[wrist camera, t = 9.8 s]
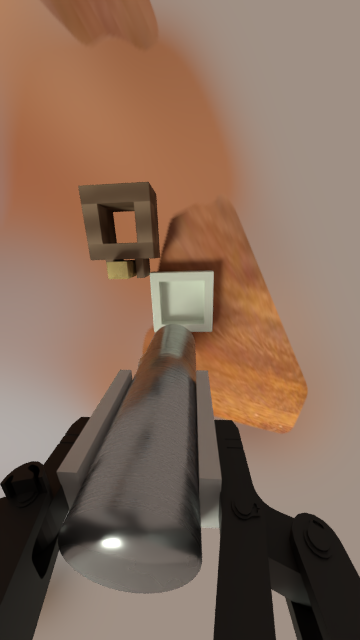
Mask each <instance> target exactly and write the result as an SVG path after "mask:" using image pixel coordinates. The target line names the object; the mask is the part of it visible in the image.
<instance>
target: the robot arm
mask: <svg viewBox="0 0 360 640" xmlns="http://www.w3.org/2000/svg"><path fill="white" fill-rule="evenodd" d="M131 382H132V373H131V370H120V371H119V373H118V374H117V376H116V377H115V379H114V381H113V382H112V384H111V386H110V387H109V389H108V390H107V392H106V393H105V395H104V397H103V398H102V400H101V401H100V403H99V405H98V406H97V408H96V409H95V411H94V413H93V414H92V416H91V417H81V418H79V419H78V420H77V421H76V422H75V423H74V424H72V425H71V427H70V428H69V430H68V431H67V433H66V434H65V436H64V437H63V438H62V440H61V441H60V444H58V445H57V447H56V448H55V450H54V451H53V453H52V454H51V455H50V457H49V458H48V460H47V461H46V462H45V464H44V465H43V464H41V463H40V462H34V461H33V462H29V463H26V464H23V465H21V466H19V467H18V468H16V469H14V470H13V471H12V472H11V473H10V474H8V475H7V476H6V477H5V479H4V480H3V481H2V482H1V484H0V485H1V487H2V489H3V491H4V493H5V495H6V497H3V498H0V640H32V639H33V636H34V632H35V629H36V626H37V622H38V619H39V615H40V612H41V609H42V605H43V602H44V599H45V595H46V592H47V588H48V585H49V582H50V578H51V575H52V572H53V568H54V565H55V562H56V558H57V555H58V552H59V547H58V534H59V531H60V529H61V527H62V525H63V522H64V520H65V518H66V516H67V514H68V511H69V510H70V508H71V506H72V504H73V502H74V500H75V498H76V496H77V494H78V492H79V490H80V488H81V486H82V484H83V482H84V480H85V477H86V475H87V473H88V471H89V469H90V467H91V465H92V463H93V461H94V459H95V457H96V455H97V453H98V451H99V449H100V446H101V444H102V442H103V440H104V438H105V436H106V434H107V432H108V430H109V428H110V426H111V424H112V422H113V420H114V418H115V416H116V413H117V411H118V409H119V407H120V405H121V403H122V401H123V399H124V397H125V395H126V393H127V391H128V389H129V387H130V385H131ZM196 397H197V433H198V469H199V498H200V512H201V527H208V528H220V551H219V566H218V581H217V595H216V609H215V624H214V640H276V636H275V625H274V614H273V604H272V593H271V589H272V590H274V591H276V592H278V593H280V594H281V595H283V596H285V598H286V602H287V605H288V609H289V612H290V615H291V619H292V623H293V626H294V630H295V633H296V637H297V640H360V577H359V575H358V573H357V571H356V570H355V568H354V566H353V564H352V562H351V560H350V558H349V556H348V554H347V553H346V551H345V549H344V547H343V545H342V543H341V541H340V540H339V538H338V537H337V535H336V534H335V532H334V531H333V530H332V529H331V528H330V527H329V526H328V525H327V524H326V523H325V522H324V521H323V520H321V519H320V518H318V517H316V516H315V515H312V514H308V513H301V514H298V515H297V516H296V517H295V518H292V517H290V516H288V515H285V514H283V513H281V512H279V511H276V510H274V509H273V508H271V507H269V506H268V505H267V504H265V503H264V502H263V501H262V499H261V498H260V497H259V496H258V494H257V493H256V491H255V489H254V486H253V484H252V480H251V476H250V472H249V468H248V464H247V461H246V457H245V453H244V450H243V445H242V442H241V438H240V434H239V430H238V428H237V427H236V425H235V424H234V422H233V421H232V420H214V416H213V408H212V400H211V392H210V385H209V377H208V371H196Z"/></svg>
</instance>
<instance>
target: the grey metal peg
mask: <svg viewBox="0 0 360 640" xmlns="http://www.w3.org/2000/svg"><path fill="white" fill-rule="evenodd" d="M58 547H59V550H60V552H61V554H62V556H63V558H64V559H65V560H66V562H67V563H68V564H69V565H70V566H71V567H72V568H73V569H74V570H75V571H77V572H78V573H80V574H81V575H82V576H84V577H86V578H88V579H89V580H91V581H93V582H95V583H98V584H100V585H102V586H106V587H108V588H112V589H116V590H119V591H125V592H132V593H161V592H165V591H170V590H174V589H177V588H179V587H182V586H184V585H185V584H187V583H189V582H190V581H191V580H193V579H194V577H195V576H196V575H197V574H198V572H199V571H200V568H201V564H202V544H201V512H200V498H199V469H198V433H197V397H196V353H195V339H194V337H193V335H192V333H191V332H190V331H189V330H188V329H187V328H185V327H184V326H181V325H178V324H169V325H165V326H163V327H161V328H160V329H159V330H158V331H157V332H156V333H155V335H154V337H153V339H152V341H151V343H150V345H149V347H148V349H147V351H146V354H145V356H144V358H143V360H142V362H141V364H140V366H139V368H138V370H137V372H136V374H135V376H134V379H133V380H132V382H131V385H130V387H129V389H128V391H127V393H126V395H125V397H124V399H123V401H122V403H121V405H120V407H119V409H118V411H117V413H116V416H115V418H114V420H113V422H112V424H111V426H110V428H109V430H108V432H107V434H106V436H105V438H104V440H103V442H102V444H101V446H100V449H99V451H98V453H97V455H96V457H95V459H94V461H93V463H92V465H91V467H90V469H89V471H88V473H87V475H86V477H85V480H84V482H83V484H82V486H81V488H80V490H79V492H78V494H77V496H76V498H75V500H74V502H73V504H72V506H71V508H70V510H69V513H68V515H67V517H66V519H65V521H64V523H63V525H62V527H61V529H60V531H59V534H58Z"/></svg>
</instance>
